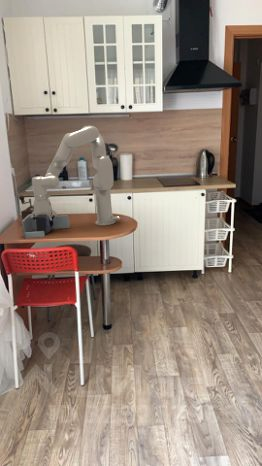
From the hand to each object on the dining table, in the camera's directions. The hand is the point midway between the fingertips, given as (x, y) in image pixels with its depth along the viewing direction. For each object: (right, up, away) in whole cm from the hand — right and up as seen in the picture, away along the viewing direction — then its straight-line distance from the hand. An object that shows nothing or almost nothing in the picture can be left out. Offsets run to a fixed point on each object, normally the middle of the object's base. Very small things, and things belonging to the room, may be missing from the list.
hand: (45, 226), depth 227 cm
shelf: (+1, -4, +1) cm, 4 cm away
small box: (0, -3, +1) cm, 3 cm away
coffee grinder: (-16, +3, +28) cm, 32 cm away
